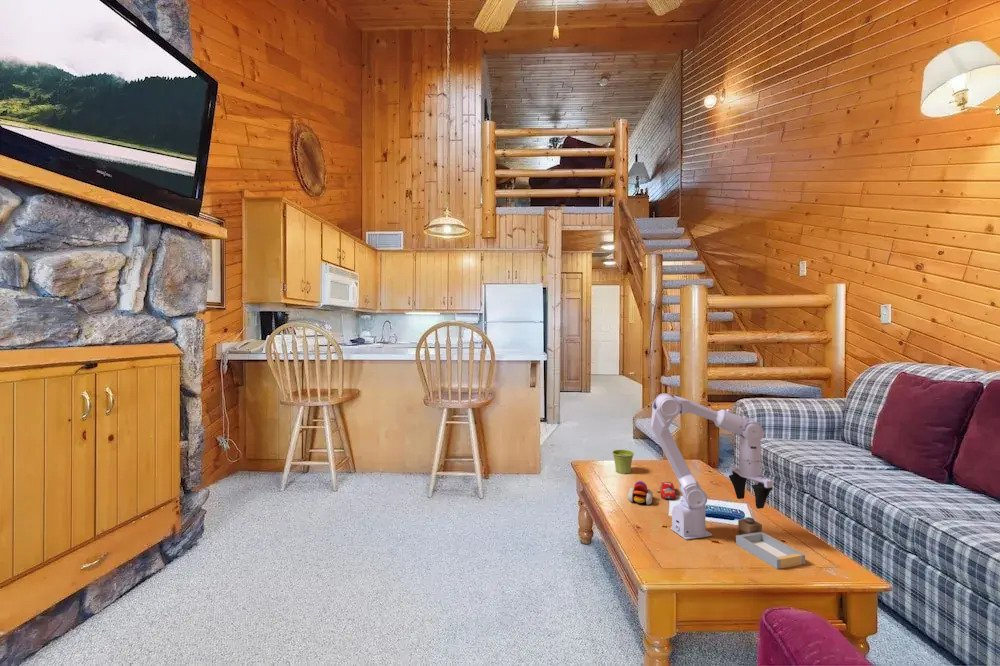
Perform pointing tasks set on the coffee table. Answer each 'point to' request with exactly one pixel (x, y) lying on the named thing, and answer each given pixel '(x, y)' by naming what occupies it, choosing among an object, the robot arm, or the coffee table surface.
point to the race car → (667, 490)
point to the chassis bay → (770, 550)
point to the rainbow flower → (640, 493)
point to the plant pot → (623, 460)
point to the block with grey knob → (748, 526)
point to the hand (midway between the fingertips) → (749, 503)
